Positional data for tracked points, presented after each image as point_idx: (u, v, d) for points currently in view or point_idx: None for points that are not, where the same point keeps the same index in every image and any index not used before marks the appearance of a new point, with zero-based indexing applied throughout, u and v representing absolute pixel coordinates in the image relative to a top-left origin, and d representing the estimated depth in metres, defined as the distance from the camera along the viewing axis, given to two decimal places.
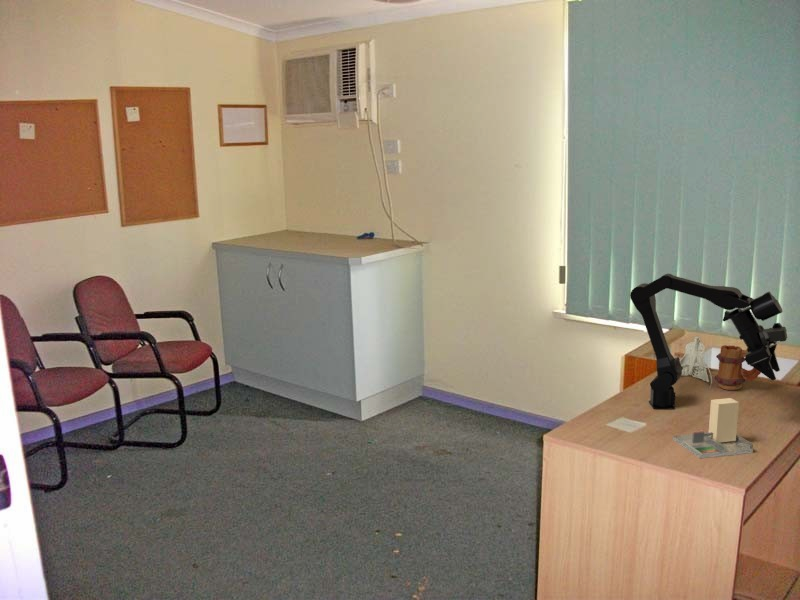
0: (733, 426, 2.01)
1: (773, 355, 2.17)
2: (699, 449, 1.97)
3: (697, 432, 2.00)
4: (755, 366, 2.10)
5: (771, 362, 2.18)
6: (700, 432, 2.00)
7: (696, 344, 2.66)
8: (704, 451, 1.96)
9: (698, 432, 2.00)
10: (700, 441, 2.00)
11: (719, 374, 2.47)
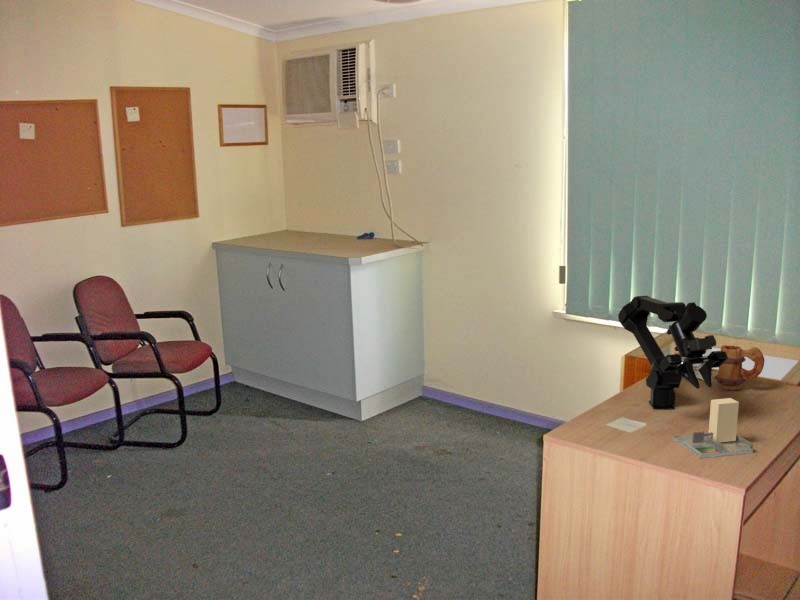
0: (733, 426, 2.01)
1: (706, 370, 2.12)
2: (699, 449, 1.97)
3: (697, 432, 2.00)
4: (681, 373, 2.14)
5: (705, 378, 2.12)
6: (700, 432, 2.00)
7: None
8: (704, 451, 1.96)
9: (698, 432, 2.00)
10: (700, 441, 2.00)
11: (719, 374, 2.47)
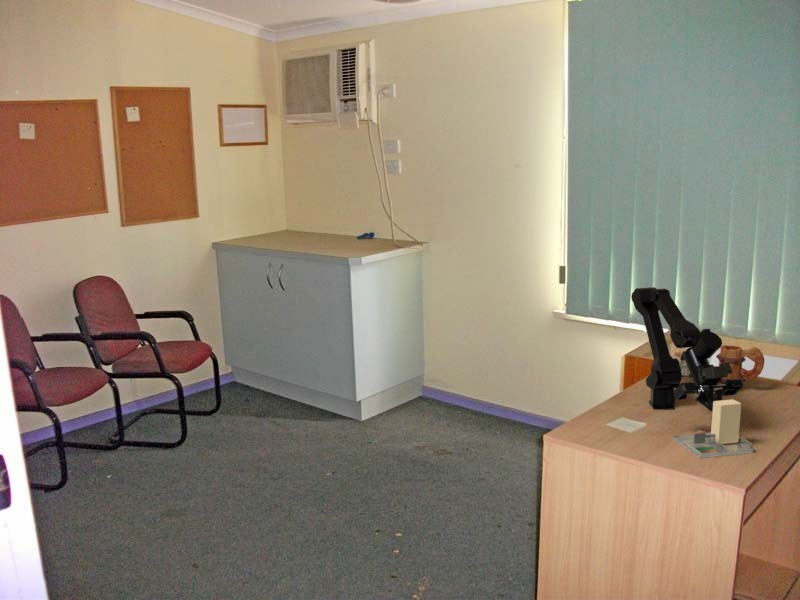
0: (735, 427, 2.00)
1: (716, 399, 2.05)
2: (699, 449, 1.97)
3: (698, 433, 1.99)
4: (701, 401, 2.08)
5: None
6: (701, 433, 1.99)
7: None
8: (704, 451, 1.96)
9: (699, 433, 1.99)
10: (701, 442, 2.00)
11: None
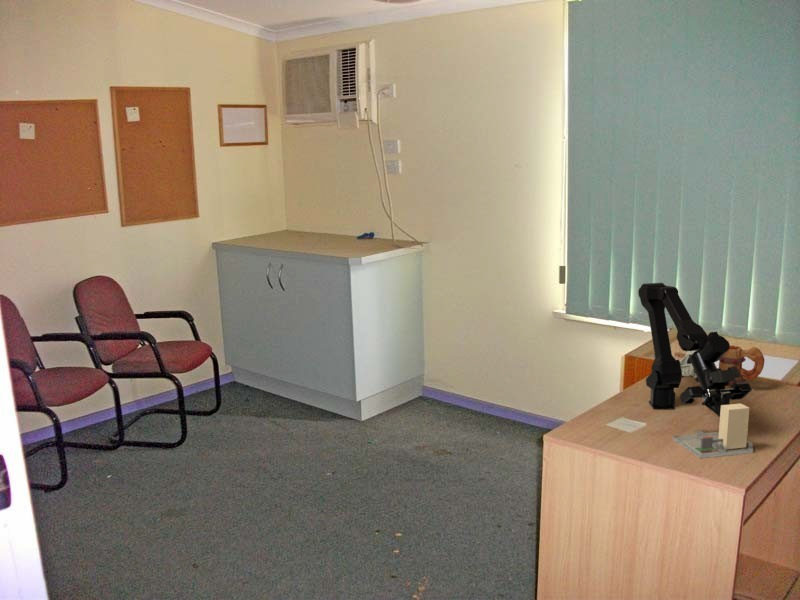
0: (743, 432, 1.97)
1: (724, 404, 2.02)
2: (699, 449, 1.97)
3: (706, 438, 1.96)
4: (708, 406, 2.05)
5: None
6: (709, 438, 1.96)
7: None
8: (704, 451, 1.96)
9: (707, 438, 1.96)
10: (709, 447, 1.97)
11: None
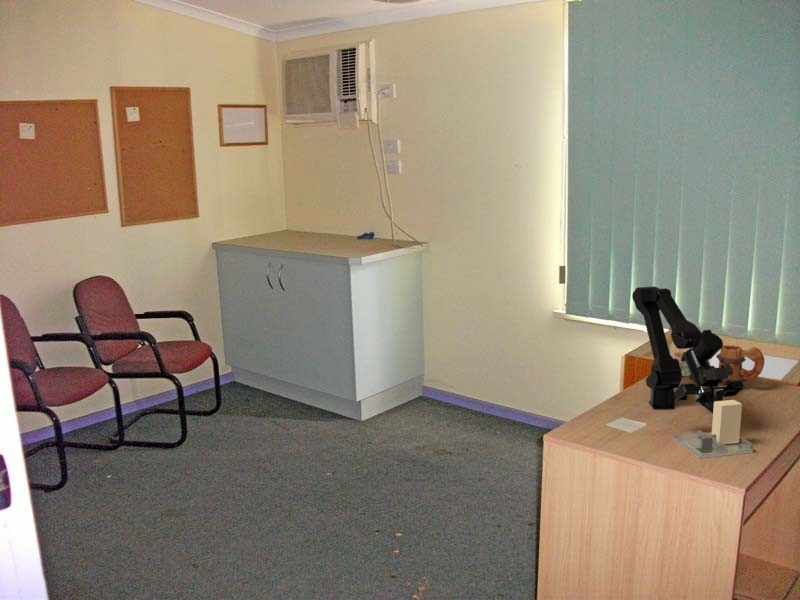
0: (736, 428, 2.00)
1: None
2: (699, 449, 1.97)
3: (706, 438, 1.96)
4: (702, 403, 2.08)
5: None
6: (709, 438, 1.96)
7: None
8: (704, 451, 1.96)
9: (707, 438, 1.96)
10: (709, 447, 1.97)
11: None
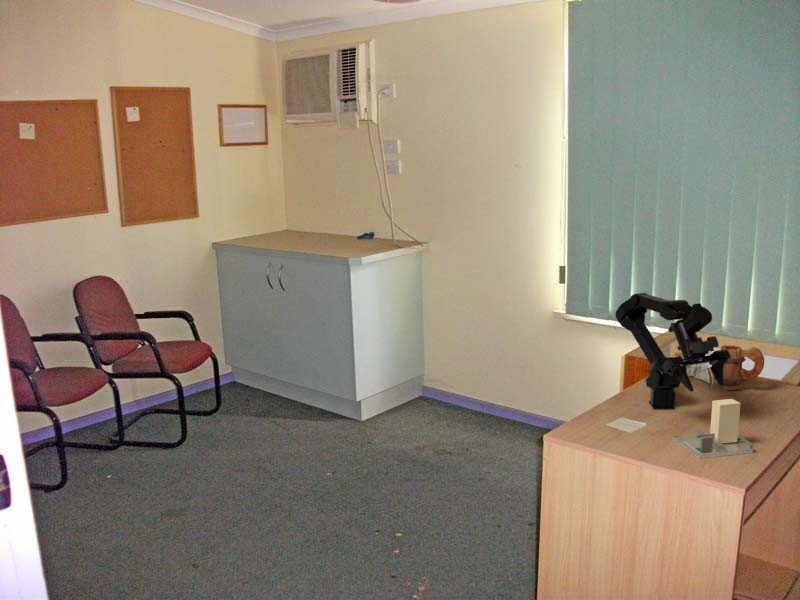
0: (735, 427, 2.00)
1: (718, 369, 2.13)
2: (699, 449, 1.97)
3: (706, 438, 1.96)
4: (675, 376, 2.15)
5: (717, 376, 2.14)
6: (709, 438, 1.96)
7: None
8: (704, 451, 1.96)
9: (707, 438, 1.96)
10: (709, 447, 1.97)
11: None
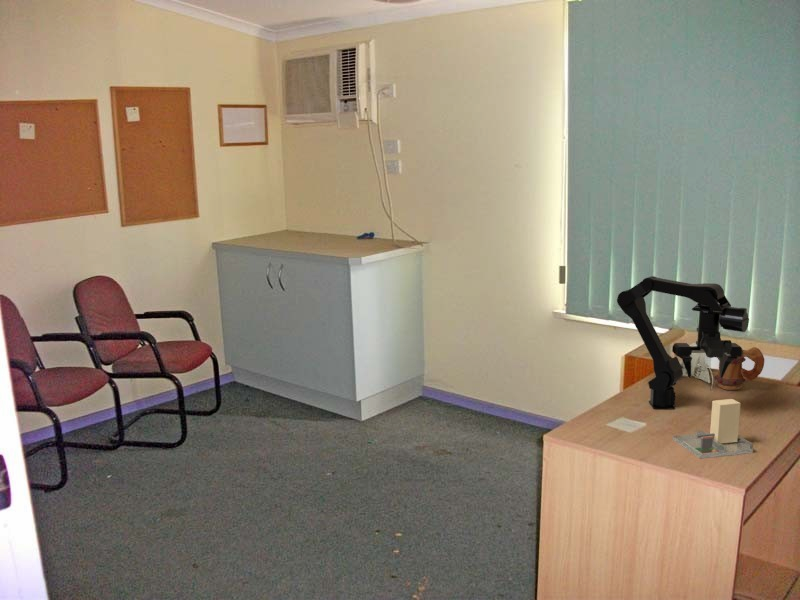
0: (735, 427, 2.00)
1: (724, 363, 2.20)
2: (699, 449, 1.97)
3: (706, 438, 1.96)
4: None
5: (721, 367, 2.22)
6: (709, 438, 1.96)
7: None
8: (704, 451, 1.96)
9: (707, 438, 1.96)
10: (709, 447, 1.97)
11: (719, 374, 2.47)
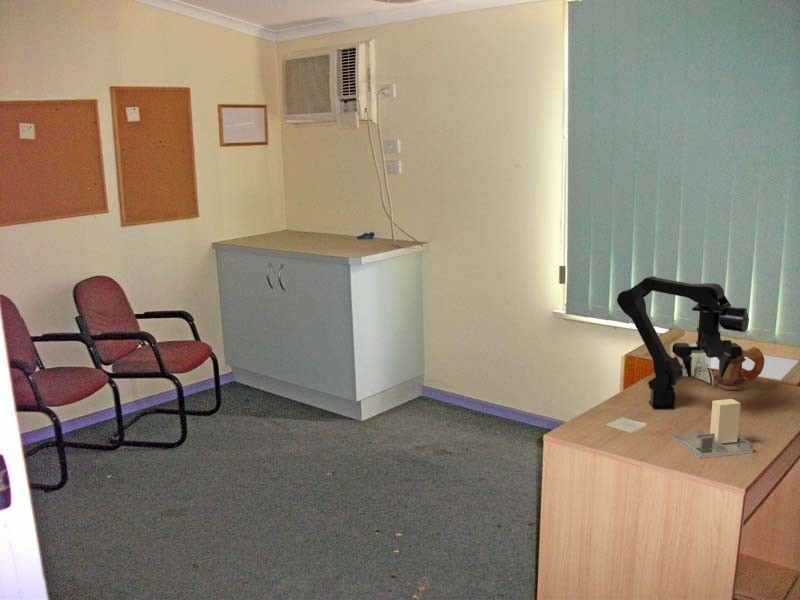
0: (735, 427, 2.00)
1: (724, 363, 2.20)
2: (699, 449, 1.97)
3: (706, 438, 1.96)
4: None
5: (721, 367, 2.22)
6: (709, 438, 1.96)
7: None
8: (704, 451, 1.96)
9: (707, 438, 1.96)
10: (709, 447, 1.97)
11: (719, 374, 2.47)
